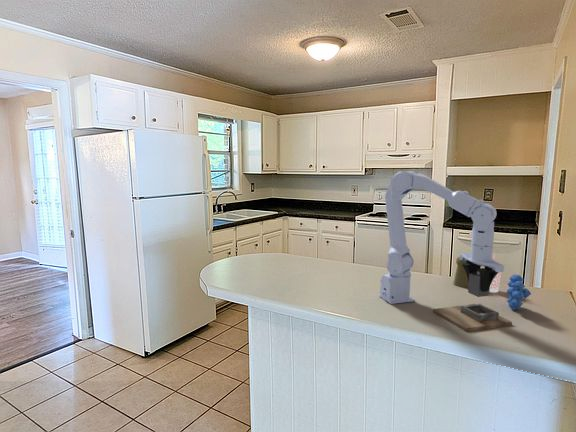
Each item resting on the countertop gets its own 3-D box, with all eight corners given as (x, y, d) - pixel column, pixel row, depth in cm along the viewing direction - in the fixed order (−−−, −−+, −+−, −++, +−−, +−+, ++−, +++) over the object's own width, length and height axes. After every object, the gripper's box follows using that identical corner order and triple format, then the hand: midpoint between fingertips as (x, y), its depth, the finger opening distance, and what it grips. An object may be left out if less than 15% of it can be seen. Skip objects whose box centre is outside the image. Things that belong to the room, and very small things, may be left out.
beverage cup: (494, 287, 135) (497, 251, 133) (504, 293, 129) (507, 255, 127) (478, 287, 135) (481, 251, 133) (488, 293, 129) (491, 255, 127)
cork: (472, 288, 134) (474, 259, 133) (455, 286, 136) (457, 258, 134) (468, 282, 140) (470, 255, 139) (451, 281, 142) (453, 254, 140)
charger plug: (478, 296, 105) (480, 274, 104) (467, 292, 109) (469, 270, 108) (489, 295, 107) (490, 272, 106) (478, 291, 110) (480, 269, 109)
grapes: (534, 319, 107) (538, 280, 106) (508, 315, 110) (511, 278, 108) (525, 305, 118) (528, 270, 116) (501, 302, 121) (505, 267, 119)
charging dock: (466, 331, 99) (467, 321, 99) (433, 312, 112) (433, 303, 112) (511, 324, 103) (512, 315, 103) (474, 306, 117) (475, 297, 116)
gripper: (514, 249, 100) (509, 295, 102) (473, 239, 114) (470, 280, 116) (493, 250, 98) (490, 298, 100) (455, 240, 112) (452, 282, 114)
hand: (478, 288), depth 108 cm, fingers closed on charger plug, 4 cm apart
